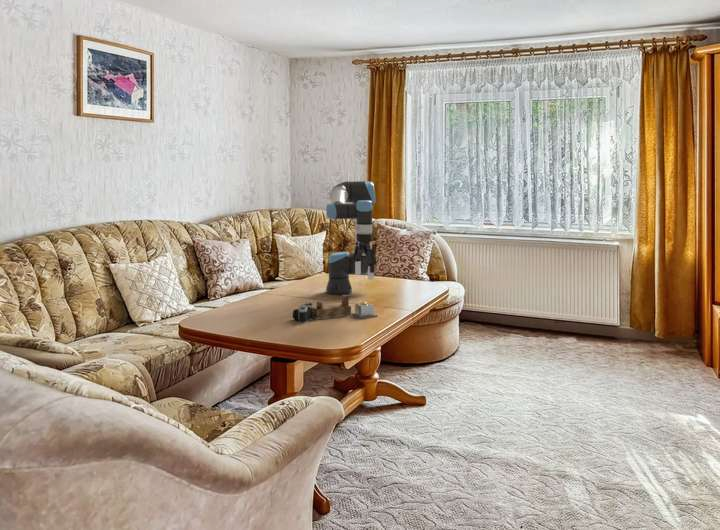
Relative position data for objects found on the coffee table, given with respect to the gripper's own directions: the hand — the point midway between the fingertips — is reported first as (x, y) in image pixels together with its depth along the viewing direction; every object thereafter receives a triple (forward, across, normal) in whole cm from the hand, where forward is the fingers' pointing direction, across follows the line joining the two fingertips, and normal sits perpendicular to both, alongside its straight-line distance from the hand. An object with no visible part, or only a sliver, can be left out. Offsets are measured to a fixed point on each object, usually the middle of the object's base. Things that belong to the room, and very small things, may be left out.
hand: (364, 276), depth 278 cm
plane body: (+19, -6, -15) cm, 25 cm away
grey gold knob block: (+18, 0, 0) cm, 18 cm away
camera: (+19, -5, -30) cm, 36 cm away
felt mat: (+19, 0, 0) cm, 19 cm away
